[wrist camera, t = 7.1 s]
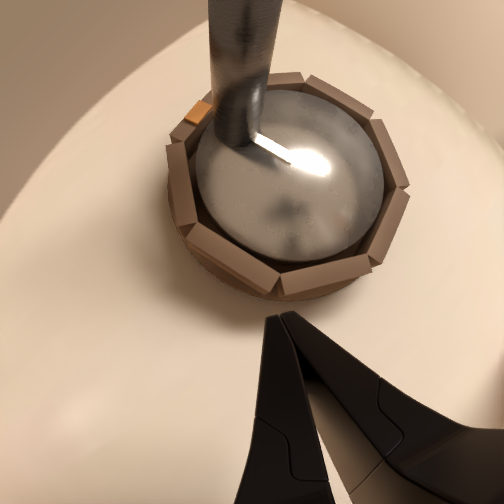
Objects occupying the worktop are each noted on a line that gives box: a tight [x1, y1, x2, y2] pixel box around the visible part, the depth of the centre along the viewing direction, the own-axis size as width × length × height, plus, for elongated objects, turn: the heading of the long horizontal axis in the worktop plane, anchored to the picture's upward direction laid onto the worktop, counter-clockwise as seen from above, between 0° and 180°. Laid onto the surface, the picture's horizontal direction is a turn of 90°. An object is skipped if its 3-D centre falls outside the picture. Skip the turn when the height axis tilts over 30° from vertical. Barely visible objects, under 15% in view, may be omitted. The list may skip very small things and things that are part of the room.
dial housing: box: [166, 72, 410, 301], centre depth 20 cm, size 17×17×4 cm
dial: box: [195, 0, 384, 265], centre depth 14 cm, size 13×13×14 cm
